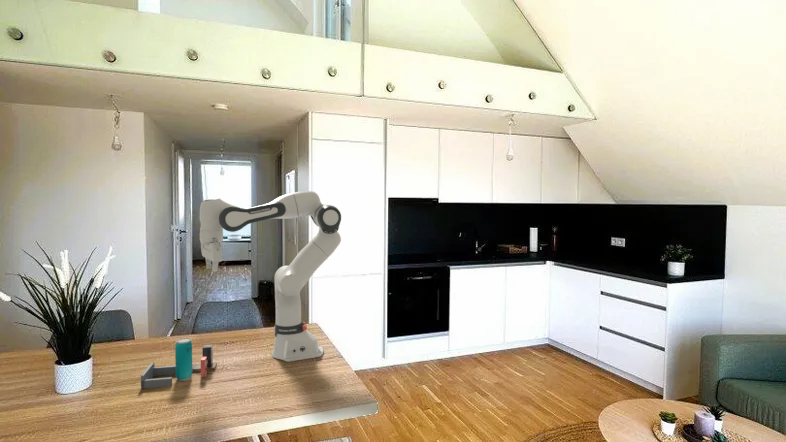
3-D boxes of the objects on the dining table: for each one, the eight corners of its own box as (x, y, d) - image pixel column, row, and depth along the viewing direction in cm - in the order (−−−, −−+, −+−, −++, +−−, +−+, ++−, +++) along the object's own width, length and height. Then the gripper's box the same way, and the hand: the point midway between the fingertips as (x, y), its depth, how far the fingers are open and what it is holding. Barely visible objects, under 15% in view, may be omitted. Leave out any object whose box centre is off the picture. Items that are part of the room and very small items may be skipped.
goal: (179, 372, 163) (179, 360, 163) (171, 386, 152) (171, 373, 152) (151, 374, 161) (151, 362, 161) (141, 389, 149) (140, 375, 149)
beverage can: (195, 375, 161) (195, 338, 160) (186, 382, 155) (186, 343, 154) (181, 374, 162) (181, 337, 161) (172, 381, 156) (171, 342, 155)
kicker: (212, 365, 170) (212, 344, 169) (207, 377, 159) (207, 354, 158) (204, 366, 169) (204, 344, 168) (198, 377, 158) (198, 355, 158)
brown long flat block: (216, 365, 171) (216, 362, 171) (214, 370, 166) (214, 367, 166) (174, 368, 167) (174, 365, 167) (171, 373, 162) (171, 370, 162)
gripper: (226, 239, 165) (226, 273, 166) (213, 234, 181) (213, 265, 182) (209, 239, 161) (209, 274, 162) (198, 235, 177) (198, 266, 178)
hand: (211, 269), depth 172 cm, fingers open, 8 cm apart
